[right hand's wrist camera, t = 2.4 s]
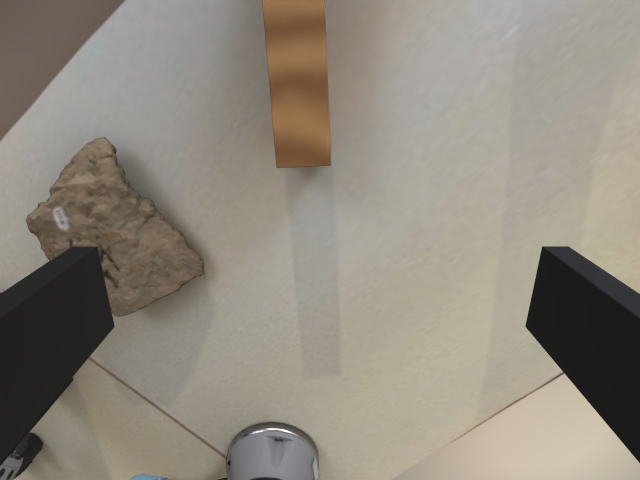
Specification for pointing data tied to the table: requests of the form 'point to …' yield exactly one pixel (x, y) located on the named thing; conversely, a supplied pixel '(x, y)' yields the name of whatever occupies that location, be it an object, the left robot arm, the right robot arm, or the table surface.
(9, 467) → the robot
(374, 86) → the table surface
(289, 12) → the bar
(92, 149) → the stone
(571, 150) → the table surface
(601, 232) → the table surface
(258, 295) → the table surface
